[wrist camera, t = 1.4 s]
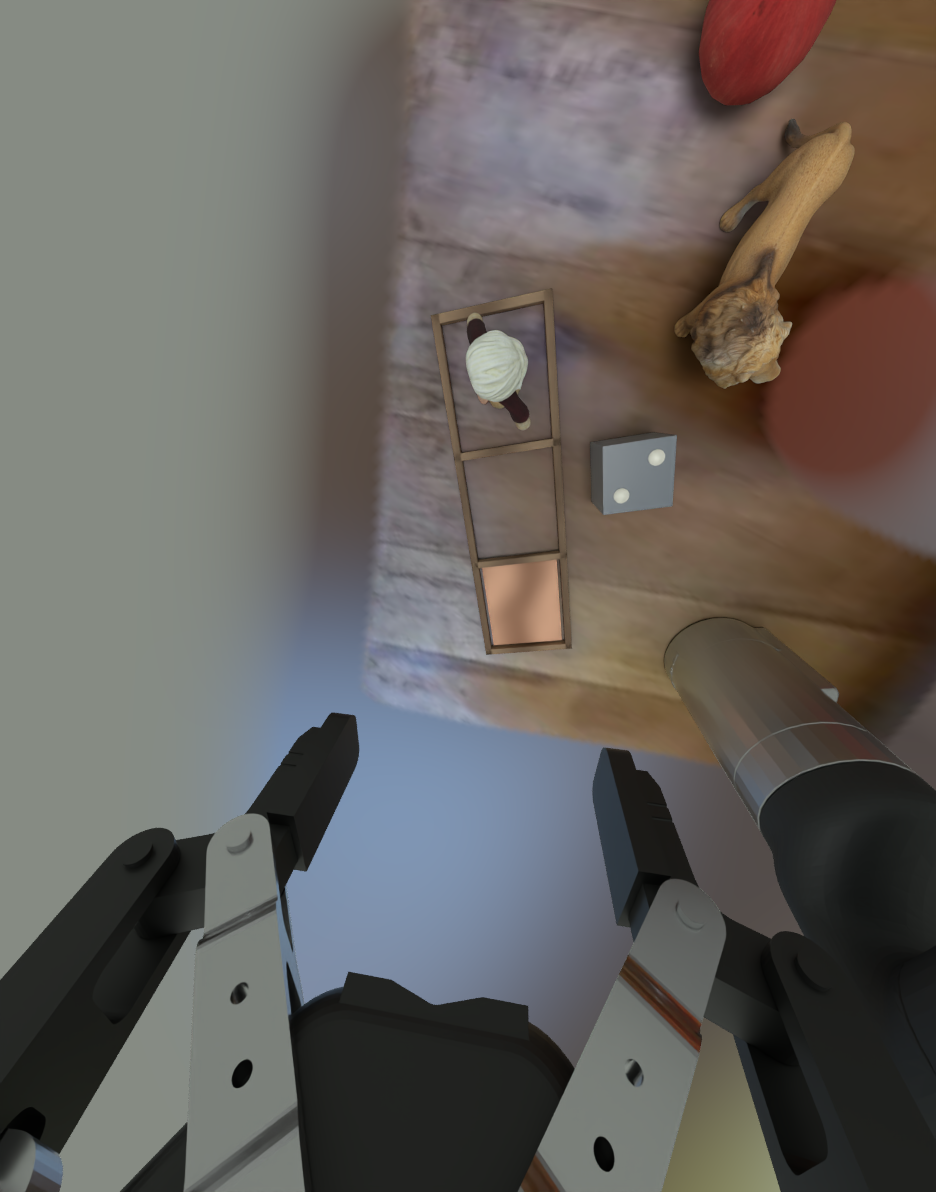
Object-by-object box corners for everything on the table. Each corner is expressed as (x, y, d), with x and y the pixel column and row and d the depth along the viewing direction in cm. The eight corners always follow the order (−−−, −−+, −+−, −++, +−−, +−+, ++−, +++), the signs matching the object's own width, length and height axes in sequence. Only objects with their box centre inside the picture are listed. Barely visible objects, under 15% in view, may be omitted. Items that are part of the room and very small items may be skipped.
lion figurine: (718, 399, 30) (794, 393, 22) (650, 386, 30) (702, 376, 22) (827, 132, 23) (993, -18, 15) (740, 118, 23) (859, -38, 15)
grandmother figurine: (449, 362, 31) (412, 331, 19) (485, 322, 29) (468, 263, 18) (511, 439, 33) (509, 452, 21) (547, 405, 31) (567, 399, 20)
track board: (551, 291, 28) (552, 288, 27) (570, 644, 40) (571, 648, 40) (432, 317, 29) (430, 315, 29) (486, 650, 42) (486, 654, 41)
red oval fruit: (669, 34, 22) (743, -148, 15) (780, -36, 21) (920, -272, 14) (685, 160, 24) (757, 53, 17) (787, 105, 23) (911, -37, 16)
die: (653, 432, 31) (677, 435, 27) (650, 493, 33) (673, 506, 29) (590, 442, 32) (602, 446, 27) (591, 501, 34) (603, 515, 29)
